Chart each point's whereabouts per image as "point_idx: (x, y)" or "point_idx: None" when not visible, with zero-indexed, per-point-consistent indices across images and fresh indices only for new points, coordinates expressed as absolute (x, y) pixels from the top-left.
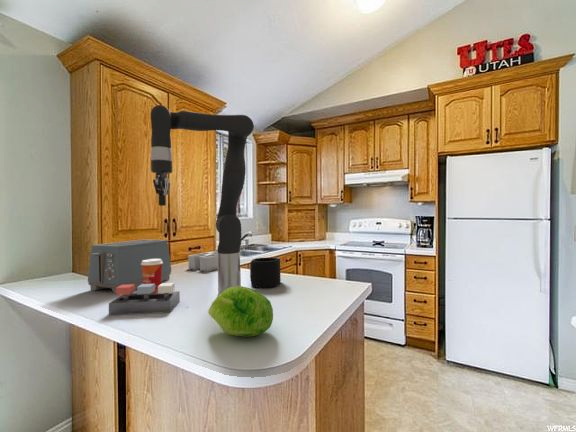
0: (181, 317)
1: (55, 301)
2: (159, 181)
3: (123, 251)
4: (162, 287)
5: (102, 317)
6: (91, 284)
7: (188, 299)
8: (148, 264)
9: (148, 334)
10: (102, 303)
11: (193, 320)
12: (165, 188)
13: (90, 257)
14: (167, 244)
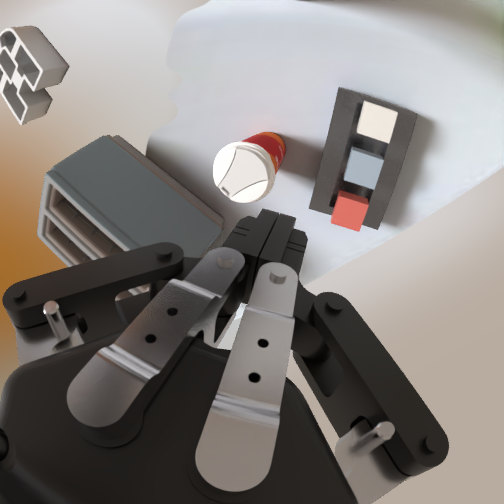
0: (449, 96)
1: (245, 304)
2: (441, 442)
3: None
4: (391, 132)
5: (382, 227)
6: None
7: (325, 67)
8: (272, 180)
9: (497, 157)
10: None
11: (471, 80)
12: (289, 319)
13: None
14: (56, 166)
